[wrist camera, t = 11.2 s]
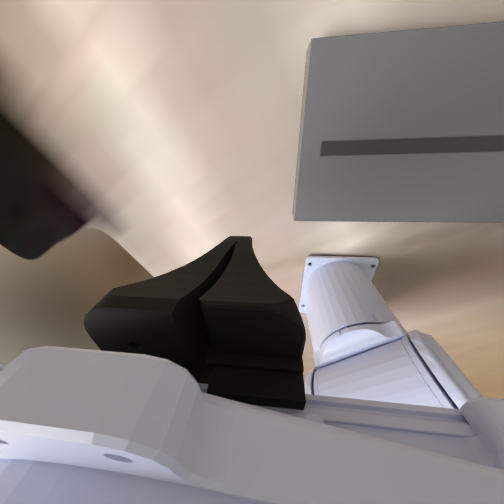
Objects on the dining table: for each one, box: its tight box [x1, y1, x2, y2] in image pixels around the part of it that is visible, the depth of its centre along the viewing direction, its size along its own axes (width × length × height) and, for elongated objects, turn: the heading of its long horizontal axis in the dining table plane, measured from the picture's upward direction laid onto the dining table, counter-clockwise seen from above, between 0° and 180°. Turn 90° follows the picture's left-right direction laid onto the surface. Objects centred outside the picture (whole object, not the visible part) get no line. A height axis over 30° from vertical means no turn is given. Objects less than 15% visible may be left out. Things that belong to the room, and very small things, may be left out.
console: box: [293, 22, 504, 223], centre depth 14 cm, size 12×26×2 cm, turn 92°
